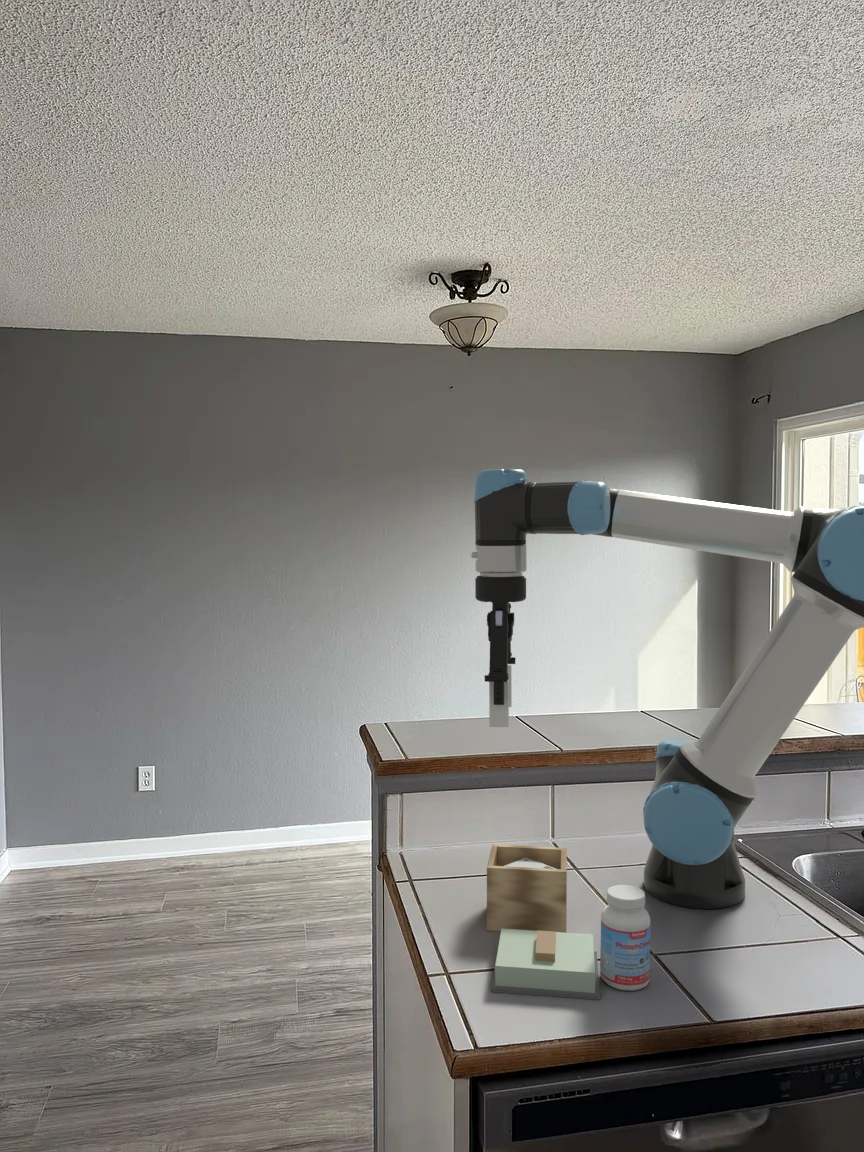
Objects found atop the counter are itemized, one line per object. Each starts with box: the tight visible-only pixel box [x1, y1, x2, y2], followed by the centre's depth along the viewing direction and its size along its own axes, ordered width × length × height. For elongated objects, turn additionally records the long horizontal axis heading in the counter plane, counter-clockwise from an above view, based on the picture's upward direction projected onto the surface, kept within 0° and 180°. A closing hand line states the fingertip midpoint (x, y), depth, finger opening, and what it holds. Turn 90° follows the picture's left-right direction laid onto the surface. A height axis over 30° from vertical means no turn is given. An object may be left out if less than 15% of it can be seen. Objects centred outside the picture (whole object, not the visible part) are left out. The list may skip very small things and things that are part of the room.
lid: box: [494, 929, 595, 993], centre depth 112 cm, size 12×10×4 cm
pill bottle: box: [599, 884, 651, 992], centre depth 110 cm, size 6×6×11 cm
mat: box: [490, 944, 601, 1001], centre depth 112 cm, size 13×11×1 cm
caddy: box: [486, 843, 568, 933], centre depth 127 cm, size 11×9×9 cm
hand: (501, 716), depth 132 cm, fingers open, 13 cm apart
